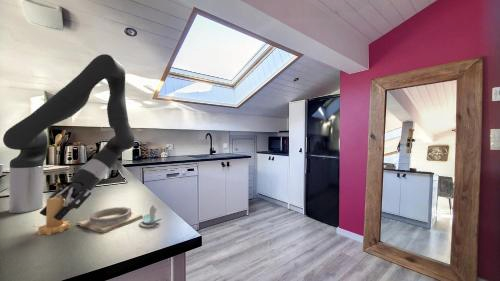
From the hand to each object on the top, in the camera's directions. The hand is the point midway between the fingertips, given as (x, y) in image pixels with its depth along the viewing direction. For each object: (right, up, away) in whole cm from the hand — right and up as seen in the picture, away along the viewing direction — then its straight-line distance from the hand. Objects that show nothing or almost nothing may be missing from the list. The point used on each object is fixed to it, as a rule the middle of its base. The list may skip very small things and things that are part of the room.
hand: (49, 216), depth 65 cm
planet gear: (0, -5, +1) cm, 5 cm away
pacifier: (+28, -6, +7) cm, 29 cm away
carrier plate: (+13, -5, +9) cm, 17 cm away
